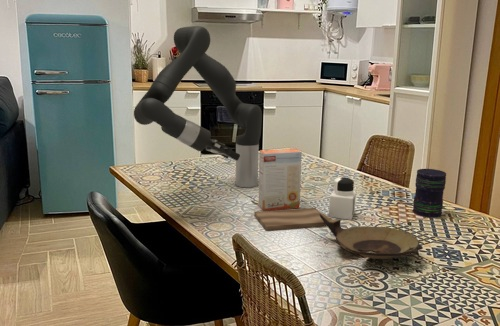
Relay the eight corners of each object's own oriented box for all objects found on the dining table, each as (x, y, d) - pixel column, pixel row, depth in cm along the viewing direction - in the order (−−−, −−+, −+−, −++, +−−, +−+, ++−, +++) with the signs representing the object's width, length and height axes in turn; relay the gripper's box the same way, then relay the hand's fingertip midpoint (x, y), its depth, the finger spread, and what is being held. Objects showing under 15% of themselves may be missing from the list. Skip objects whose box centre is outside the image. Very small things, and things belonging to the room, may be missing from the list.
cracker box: (294, 203, 184) (296, 147, 179) (299, 208, 178) (302, 151, 173) (257, 206, 180) (259, 149, 175) (262, 211, 175) (264, 153, 170)
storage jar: (420, 206, 184) (425, 167, 180) (446, 213, 177) (451, 172, 174) (407, 212, 177) (411, 171, 174) (433, 219, 170) (438, 177, 167)
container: (354, 213, 175) (357, 177, 172) (351, 220, 168) (354, 183, 165) (332, 210, 178) (334, 174, 175) (328, 217, 171) (330, 180, 167)
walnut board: (254, 216, 170) (254, 211, 169) (314, 211, 175) (314, 207, 175) (266, 230, 157) (266, 226, 156) (331, 225, 162) (331, 221, 162)
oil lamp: (378, 280, 126) (380, 251, 125) (306, 239, 151) (308, 215, 150) (437, 262, 138) (441, 236, 136) (362, 227, 163) (364, 204, 161)
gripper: (205, 125, 156) (247, 148, 163) (190, 124, 169) (230, 145, 176) (194, 147, 155) (237, 169, 162) (181, 144, 168) (221, 164, 175)
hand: (233, 156), depth 169 cm, fingers open, 8 cm apart
